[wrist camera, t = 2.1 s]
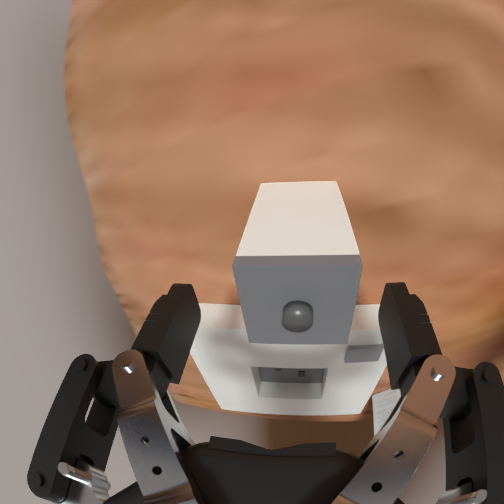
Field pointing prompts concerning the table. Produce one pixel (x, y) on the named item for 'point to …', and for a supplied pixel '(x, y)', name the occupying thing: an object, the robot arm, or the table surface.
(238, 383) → the socket plate
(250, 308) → the plug
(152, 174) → the table surface
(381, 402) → the skincare box
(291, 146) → the table surface
